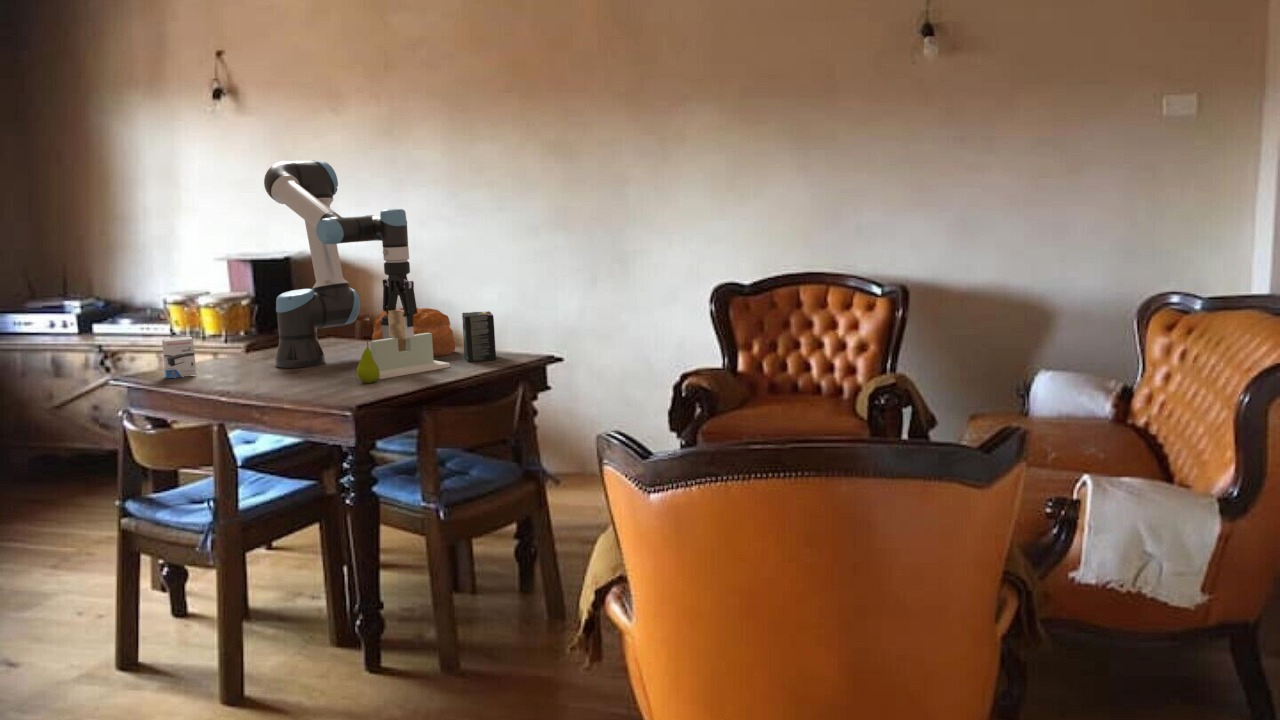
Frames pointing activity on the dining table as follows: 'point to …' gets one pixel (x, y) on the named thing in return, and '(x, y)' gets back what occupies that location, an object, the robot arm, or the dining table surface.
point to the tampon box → (479, 336)
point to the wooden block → (397, 324)
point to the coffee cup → (386, 335)
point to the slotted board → (405, 356)
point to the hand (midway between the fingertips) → (401, 336)
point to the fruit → (367, 367)
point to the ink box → (179, 357)
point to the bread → (426, 329)
